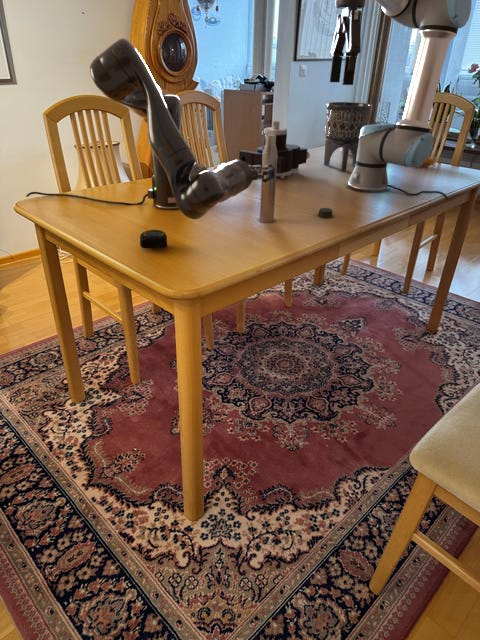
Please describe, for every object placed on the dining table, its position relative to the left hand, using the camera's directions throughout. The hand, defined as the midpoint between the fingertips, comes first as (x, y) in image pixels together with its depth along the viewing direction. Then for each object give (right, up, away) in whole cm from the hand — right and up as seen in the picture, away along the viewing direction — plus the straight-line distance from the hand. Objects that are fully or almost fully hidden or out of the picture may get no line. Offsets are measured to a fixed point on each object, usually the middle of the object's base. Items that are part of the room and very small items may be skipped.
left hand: (256, 166), depth 122 cm
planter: (+43, +30, +88) cm, 103 cm away
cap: (+23, -7, +22) cm, 32 cm away
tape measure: (-26, -23, -5) cm, 35 cm away
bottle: (+4, -11, +18) cm, 21 cm away
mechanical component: (+13, +22, +74) cm, 79 cm away
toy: (+81, +32, +94) cm, 128 cm away
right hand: (+24, +24, +4) cm, 34 cm away
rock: (-23, +16, +62) cm, 68 cm away
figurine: (+53, +46, +117) cm, 136 cm away
